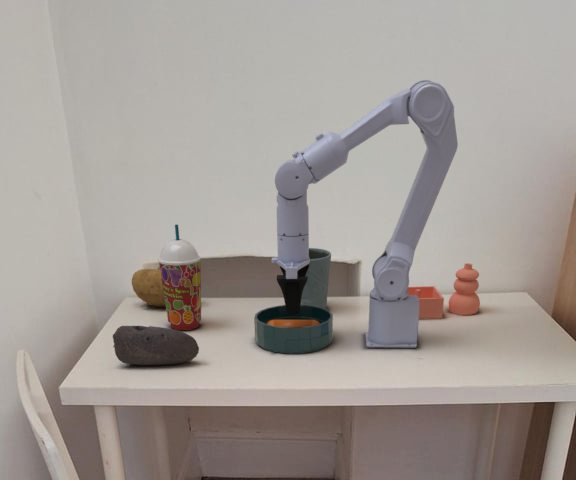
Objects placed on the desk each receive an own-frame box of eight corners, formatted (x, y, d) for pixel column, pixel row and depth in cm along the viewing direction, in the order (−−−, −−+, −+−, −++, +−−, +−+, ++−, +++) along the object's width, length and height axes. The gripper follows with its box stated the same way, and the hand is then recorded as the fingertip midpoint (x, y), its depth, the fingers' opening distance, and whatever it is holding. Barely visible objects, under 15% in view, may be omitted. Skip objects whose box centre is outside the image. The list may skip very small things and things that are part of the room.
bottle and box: (399, 319, 157) (402, 271, 152) (392, 306, 165) (394, 260, 160) (484, 317, 158) (490, 269, 152) (472, 304, 166) (478, 258, 160)
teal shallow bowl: (332, 329, 152) (332, 304, 149) (332, 354, 139) (332, 328, 137) (259, 328, 153) (258, 304, 150) (252, 354, 140) (251, 328, 138)
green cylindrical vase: (314, 300, 170) (315, 245, 163) (339, 311, 162) (340, 254, 156) (276, 307, 165) (274, 251, 159) (299, 319, 158) (299, 261, 152)
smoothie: (157, 330, 153) (146, 227, 143) (177, 318, 160) (168, 219, 149) (193, 334, 150) (185, 230, 140) (212, 322, 157) (205, 222, 146)
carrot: (321, 337, 147) (322, 318, 146) (321, 340, 144) (321, 321, 142) (266, 337, 148) (265, 318, 146) (264, 339, 144) (264, 320, 143)
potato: (192, 312, 163) (189, 274, 159) (129, 311, 164) (124, 274, 160) (200, 299, 172) (197, 263, 168) (140, 299, 173) (135, 263, 169)
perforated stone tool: (202, 358, 138) (199, 321, 135) (198, 369, 134) (195, 331, 130) (121, 358, 139) (116, 322, 135) (115, 369, 134) (109, 331, 131)
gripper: (273, 225, 142) (275, 297, 149) (267, 242, 130) (270, 319, 137) (310, 225, 142) (311, 297, 149) (308, 241, 129) (308, 319, 136)
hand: (294, 308), depth 143 cm, fingers open, 7 cm apart
